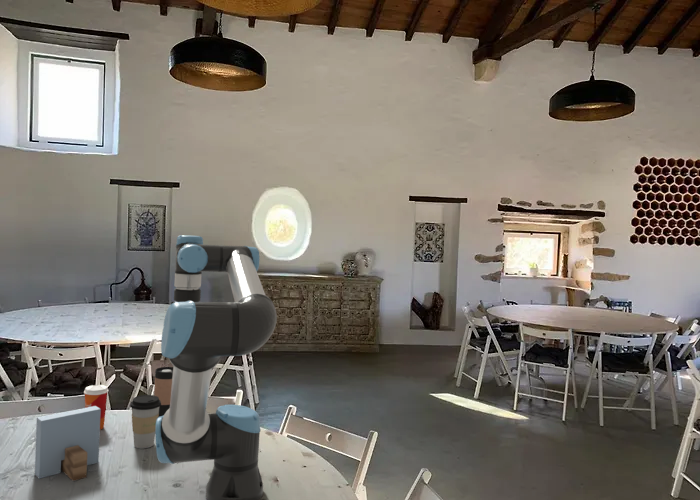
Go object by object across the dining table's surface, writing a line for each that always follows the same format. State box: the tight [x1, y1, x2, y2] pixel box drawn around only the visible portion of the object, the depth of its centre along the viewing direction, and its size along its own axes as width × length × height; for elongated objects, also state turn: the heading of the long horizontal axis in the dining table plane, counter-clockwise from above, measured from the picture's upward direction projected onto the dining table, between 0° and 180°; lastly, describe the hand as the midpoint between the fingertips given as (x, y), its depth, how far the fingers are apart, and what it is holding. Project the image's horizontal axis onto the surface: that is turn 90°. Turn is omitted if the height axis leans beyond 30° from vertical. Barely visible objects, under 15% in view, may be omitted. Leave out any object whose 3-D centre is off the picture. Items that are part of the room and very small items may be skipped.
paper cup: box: [83, 384, 109, 431], centre depth 187 cm, size 8×8×14 cm
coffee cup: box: [129, 394, 161, 450], centre depth 176 cm, size 9×9×15 cm
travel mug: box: [153, 366, 174, 417], centre depth 193 cm, size 8×8×20 cm
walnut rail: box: [61, 445, 88, 482], centre depth 157 cm, size 18×4×7 cm, turn 47°
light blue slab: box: [34, 406, 101, 479], centre depth 157 cm, size 4×16×16 cm, turn 137°
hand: (184, 359), depth 162 cm, fingers open, 13 cm apart
